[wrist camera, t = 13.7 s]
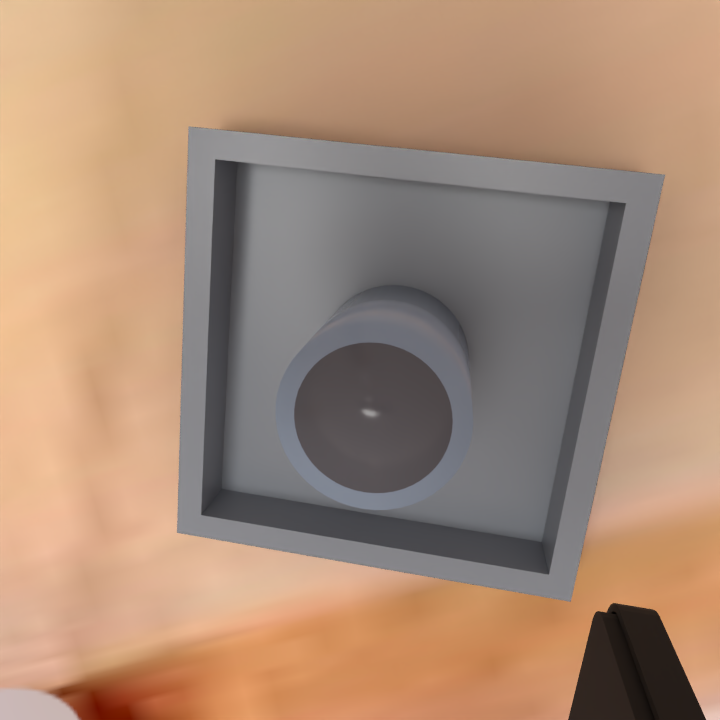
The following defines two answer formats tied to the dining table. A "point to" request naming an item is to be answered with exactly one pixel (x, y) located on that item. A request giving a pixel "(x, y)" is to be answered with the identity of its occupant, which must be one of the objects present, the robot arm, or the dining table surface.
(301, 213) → the tray
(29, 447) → the dining table surface
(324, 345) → the cup
